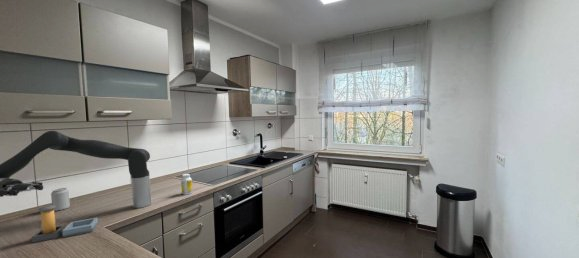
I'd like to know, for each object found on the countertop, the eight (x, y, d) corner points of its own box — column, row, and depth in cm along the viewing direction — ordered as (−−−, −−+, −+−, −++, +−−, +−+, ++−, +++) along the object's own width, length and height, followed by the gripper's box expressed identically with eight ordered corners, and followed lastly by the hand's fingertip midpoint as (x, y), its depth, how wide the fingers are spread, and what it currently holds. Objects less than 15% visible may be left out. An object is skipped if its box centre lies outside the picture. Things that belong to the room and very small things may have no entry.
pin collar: (41, 234, 107) (41, 229, 107) (65, 230, 111) (65, 224, 111) (32, 242, 100) (31, 237, 100) (58, 237, 103) (57, 232, 103)
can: (49, 210, 138) (47, 190, 138) (65, 206, 145) (63, 186, 145) (57, 212, 135) (55, 191, 135) (72, 207, 142) (71, 187, 142)
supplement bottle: (193, 191, 164) (192, 173, 164) (191, 194, 158) (190, 175, 157) (183, 192, 163) (182, 173, 163) (180, 195, 157) (179, 176, 156)
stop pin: (44, 235, 106) (42, 206, 106) (60, 232, 109) (57, 204, 108) (38, 240, 102) (36, 210, 101) (55, 237, 104) (52, 208, 104)
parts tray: (71, 228, 112) (71, 222, 112) (98, 223, 117) (97, 217, 117) (63, 237, 103) (62, 230, 103) (91, 231, 108) (91, 225, 108)
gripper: (-17, 182, 104) (6, 186, 99) (26, 175, 117) (49, 178, 113) (-17, 199, 104) (7, 204, 100) (27, 190, 118) (49, 194, 113)
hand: (29, 190), depth 106 cm, fingers open, 8 cm apart
